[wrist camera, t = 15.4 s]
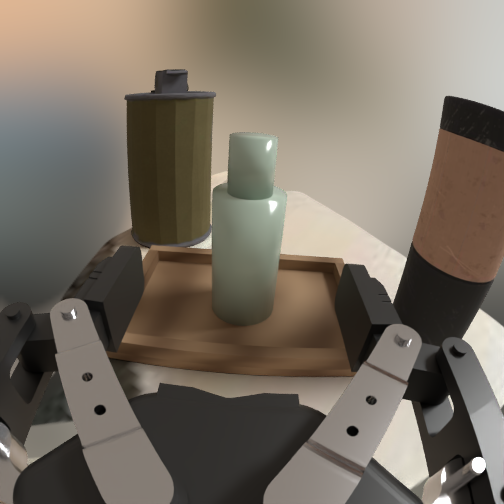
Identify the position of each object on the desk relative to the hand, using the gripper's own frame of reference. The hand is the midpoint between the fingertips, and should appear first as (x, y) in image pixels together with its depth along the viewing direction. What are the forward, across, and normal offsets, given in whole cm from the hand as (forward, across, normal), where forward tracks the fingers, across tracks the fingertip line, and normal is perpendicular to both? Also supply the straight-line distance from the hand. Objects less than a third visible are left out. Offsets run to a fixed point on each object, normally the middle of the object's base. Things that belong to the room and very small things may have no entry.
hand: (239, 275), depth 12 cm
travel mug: (+8, -16, +11) cm, 21 cm away
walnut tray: (+11, 0, +11) cm, 16 cm away
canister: (+26, +10, +12) cm, 30 cm away
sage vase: (+11, 0, +10) cm, 15 cm away
